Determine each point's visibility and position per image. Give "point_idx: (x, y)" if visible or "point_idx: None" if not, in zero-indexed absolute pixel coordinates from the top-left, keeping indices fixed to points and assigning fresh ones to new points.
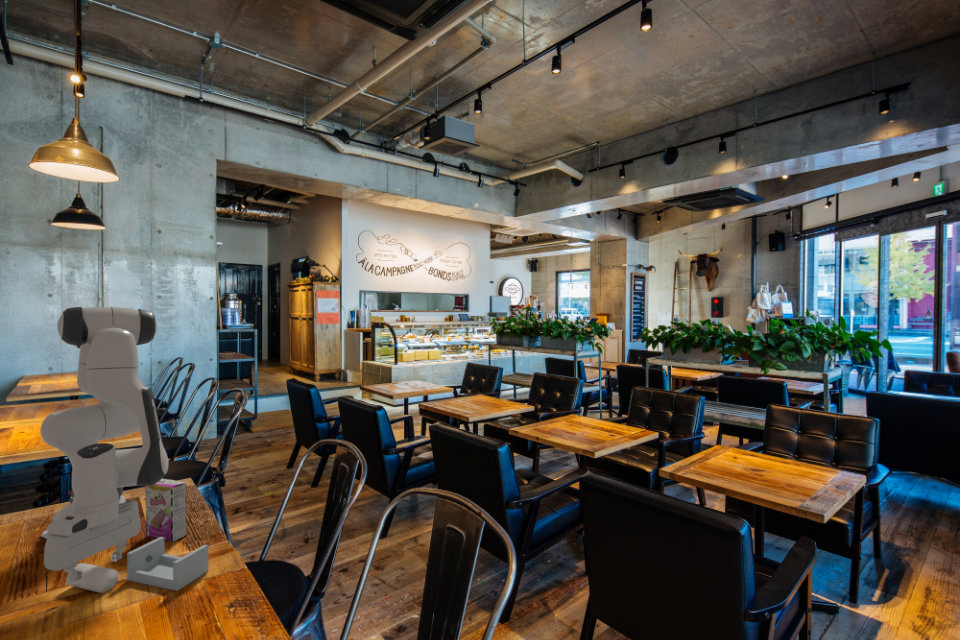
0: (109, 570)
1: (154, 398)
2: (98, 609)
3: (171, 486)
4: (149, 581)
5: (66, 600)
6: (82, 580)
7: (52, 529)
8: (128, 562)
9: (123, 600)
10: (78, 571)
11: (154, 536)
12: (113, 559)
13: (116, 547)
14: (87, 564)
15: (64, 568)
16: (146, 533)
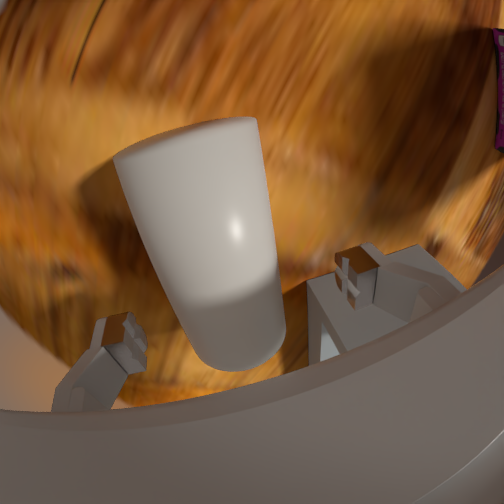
0: (255, 365)
1: None
2: (171, 369)
3: None
4: (312, 357)
5: (105, 252)
6: (160, 282)
7: None
8: (337, 340)
9: (229, 372)
10: (132, 361)
11: (502, 69)
12: (341, 268)
13: (406, 281)
14: (227, 205)
15: (60, 394)
16: (501, 31)
